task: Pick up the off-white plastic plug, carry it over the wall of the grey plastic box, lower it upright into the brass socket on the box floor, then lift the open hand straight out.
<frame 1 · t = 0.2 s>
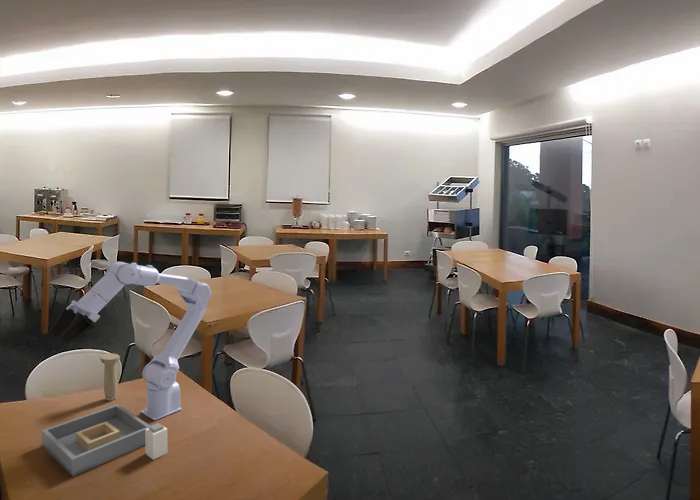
hand: (57, 337, 109), 32 cm above the table, tool tilted 50°, fingers open, 7 cm apart
plug: (156, 453, 114), on the table
box: (98, 443, 117), on the table
handle: (110, 399, 142), on the table
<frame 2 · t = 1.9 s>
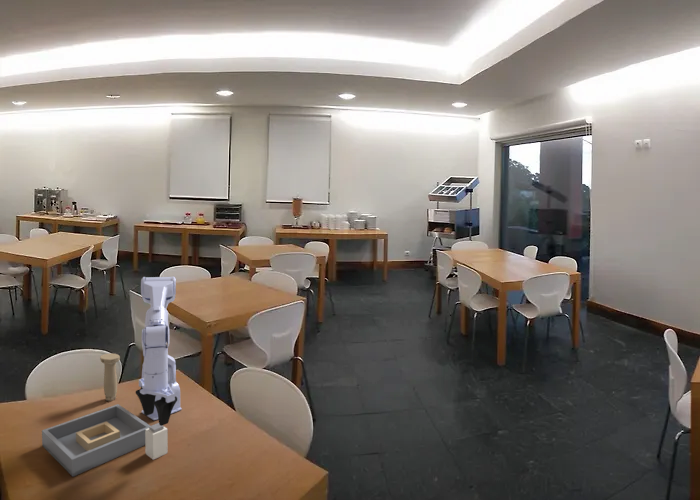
hand: (156, 419, 113), 10 cm above the table, tool pointing down, fingers open, 7 cm apart
nothing on the table moved.
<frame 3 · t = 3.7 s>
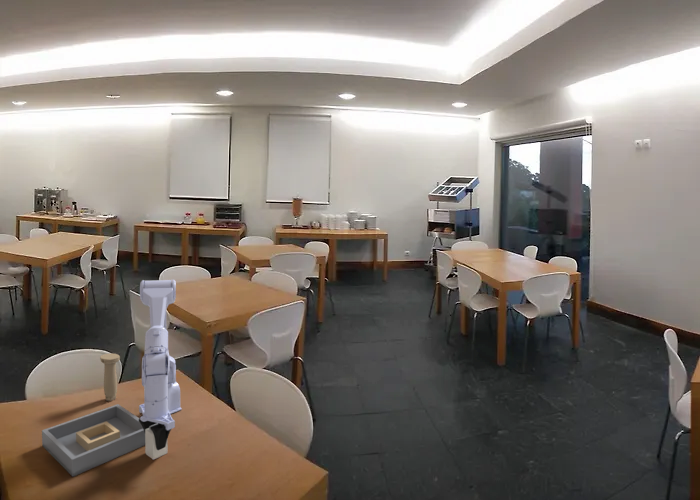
hand: (156, 444, 114), 2 cm above the table, tool pointing down, fingers closed on plug, 4 cm apart
plug: (156, 453, 114), on the table, touching gripper
everything else where it was.
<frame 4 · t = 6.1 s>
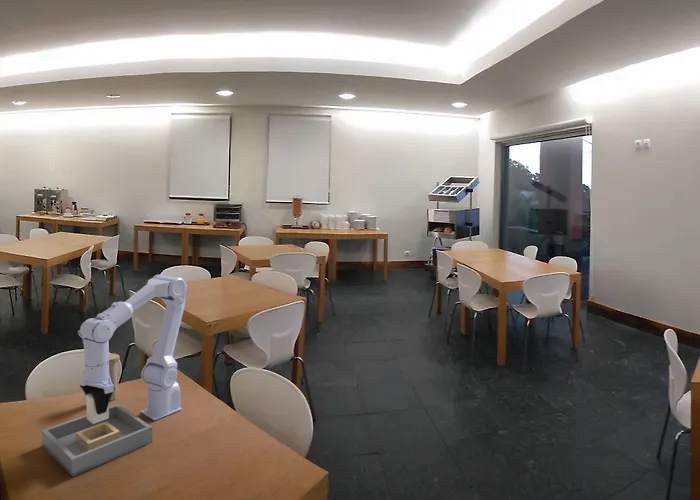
hand: (97, 410, 116), 10 cm above the table, tool pointing down, fingers closed on plug, 4 cm apart
plug: (97, 418, 116), point 7 cm above the table, touching gripper
everything else where it was.
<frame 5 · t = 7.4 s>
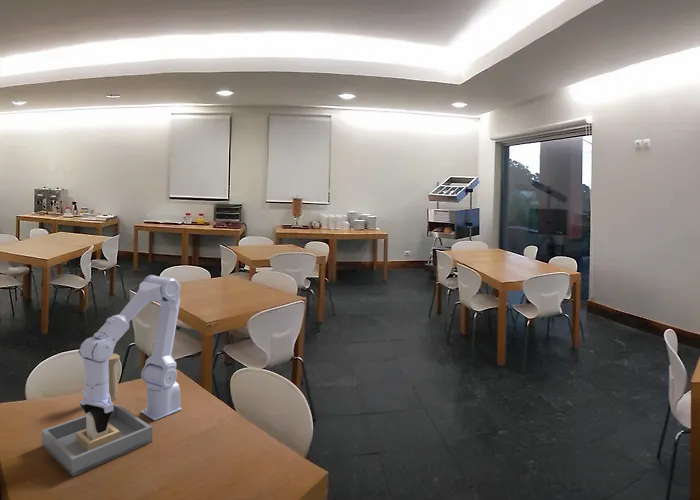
hand: (97, 428, 116), 5 cm above the table, tool pointing down, fingers closed on plug, 4 cm apart
plug: (97, 436, 117), point 2 cm above the table, touching gripper
everything else where it was.
when the fingers open (4 cm above the table, at t = 8.6 s): plug stays where it is, resting on box.
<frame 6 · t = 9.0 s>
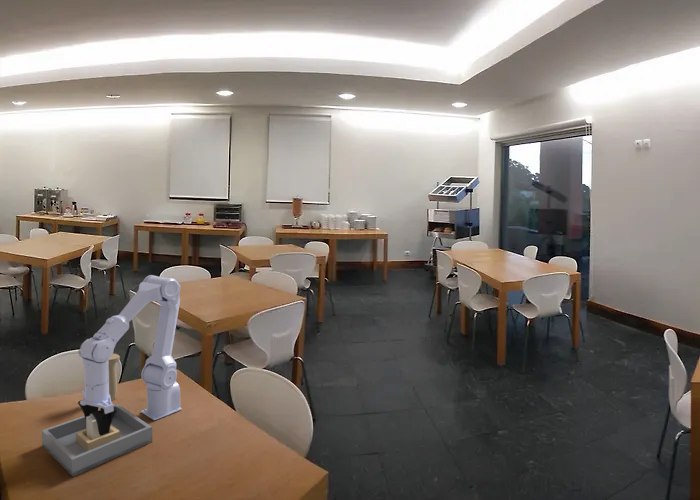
hand: (97, 428, 116), 4 cm above the table, tool pointing down, fingers open, 7 cm apart
plug: (97, 440, 117), point 1 cm above the table, touching box
everything else where it was.
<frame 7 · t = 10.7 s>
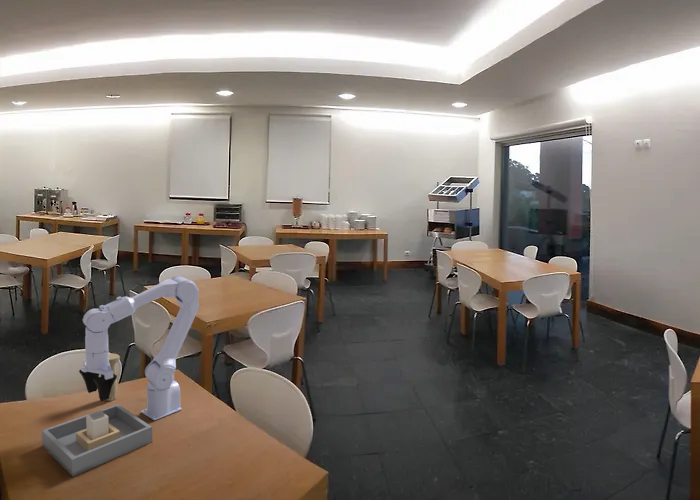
hand: (98, 395, 123), 10 cm above the table, tool pointing down, fingers open, 7 cm apart
nothing on the table moved.
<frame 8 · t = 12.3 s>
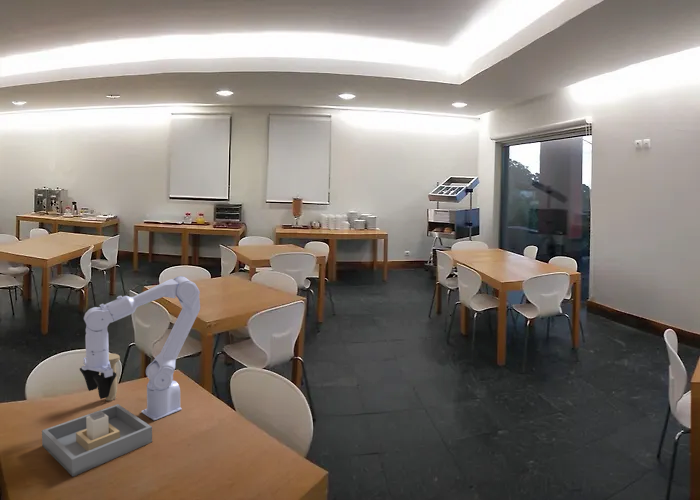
hand: (98, 393, 124), 10 cm above the table, tool pointing down, fingers open, 7 cm apart
nothing on the table moved.
at the end: plug 0.1 cm off-centre on the box, point 1.0 cm above the box's base; plug tilted 0°; the gripper is holding nothing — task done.
